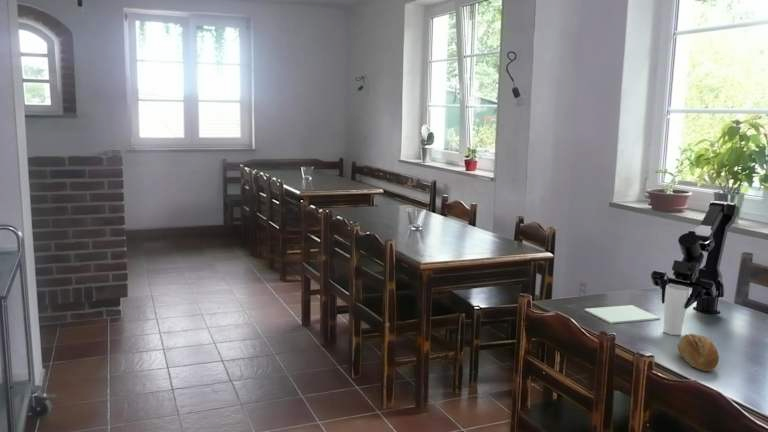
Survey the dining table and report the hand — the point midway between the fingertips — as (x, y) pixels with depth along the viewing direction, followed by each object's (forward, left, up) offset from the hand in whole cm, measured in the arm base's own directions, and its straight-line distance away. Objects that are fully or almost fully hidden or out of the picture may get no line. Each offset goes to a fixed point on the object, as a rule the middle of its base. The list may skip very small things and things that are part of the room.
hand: (673, 305), depth 204 cm
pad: (+3, -20, -9) cm, 22 cm away
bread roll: (+11, +21, -10) cm, 26 cm away
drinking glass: (-1, -1, -10) cm, 10 cm away
